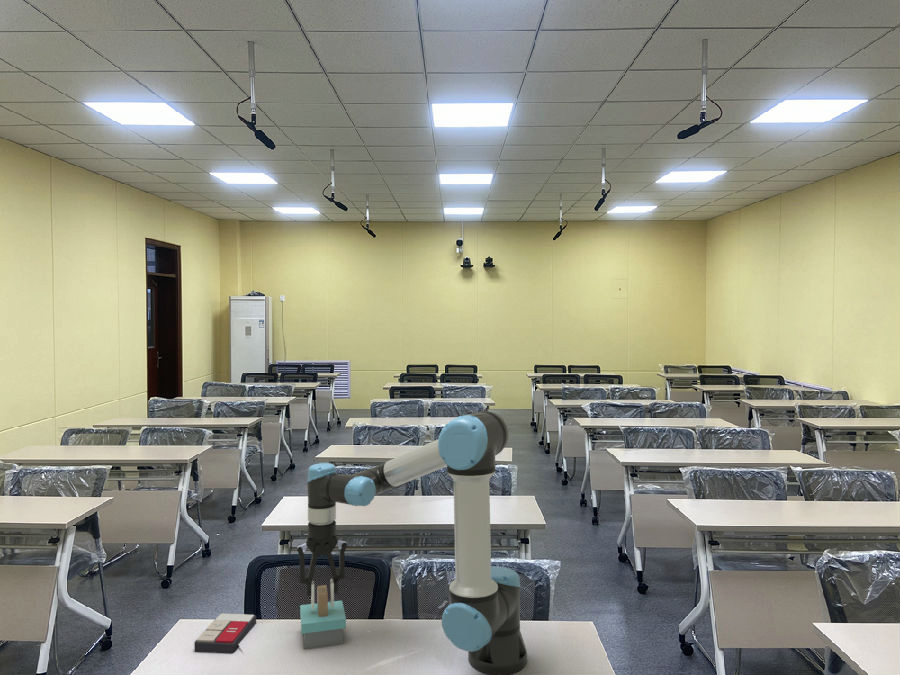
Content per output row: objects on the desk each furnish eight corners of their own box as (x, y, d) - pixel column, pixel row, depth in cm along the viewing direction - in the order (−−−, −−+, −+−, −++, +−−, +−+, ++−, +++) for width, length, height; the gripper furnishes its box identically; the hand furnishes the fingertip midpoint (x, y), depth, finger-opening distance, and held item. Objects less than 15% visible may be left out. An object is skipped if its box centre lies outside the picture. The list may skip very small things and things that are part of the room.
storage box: (342, 647, 162) (342, 621, 162) (304, 652, 159) (304, 626, 159) (339, 629, 172) (339, 605, 172) (303, 634, 169) (303, 609, 169)
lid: (345, 627, 161) (345, 596, 161) (301, 633, 158) (301, 601, 158) (342, 609, 173) (341, 579, 173) (300, 614, 170) (300, 584, 169)
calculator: (193, 639, 160) (219, 611, 175) (194, 655, 160) (220, 625, 175) (233, 641, 159) (256, 612, 174) (233, 657, 159) (256, 626, 174)
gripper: (352, 514, 171) (353, 596, 171) (288, 519, 167) (289, 603, 167) (355, 522, 164) (356, 607, 164) (288, 528, 159) (289, 616, 159)
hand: (322, 605), depth 165 cm, fingers open, 4 cm apart
